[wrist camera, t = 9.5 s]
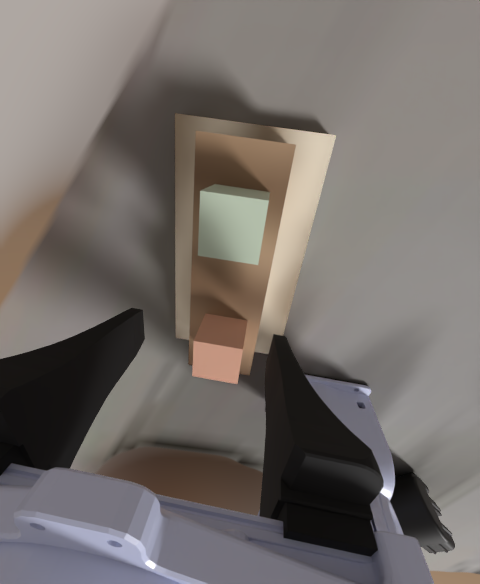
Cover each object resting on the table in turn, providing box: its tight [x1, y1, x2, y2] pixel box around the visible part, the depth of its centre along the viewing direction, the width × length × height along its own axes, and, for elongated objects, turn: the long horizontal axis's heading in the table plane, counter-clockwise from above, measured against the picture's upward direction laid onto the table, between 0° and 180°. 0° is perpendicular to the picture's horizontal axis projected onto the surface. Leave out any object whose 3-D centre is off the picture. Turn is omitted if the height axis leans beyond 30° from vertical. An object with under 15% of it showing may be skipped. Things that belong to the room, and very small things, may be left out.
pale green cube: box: [198, 184, 270, 265], centre depth 13 cm, size 3×3×3 cm
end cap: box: [390, 473, 455, 554], centre depth 32 cm, size 10×7×7 cm
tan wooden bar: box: [188, 131, 296, 375], centre depth 18 cm, size 16×5×4 cm, turn 173°
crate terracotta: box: [192, 313, 248, 384], centre depth 17 cm, size 3×3×3 cm
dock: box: [175, 113, 336, 354], centre depth 20 cm, size 10×18×2 cm, turn 173°
